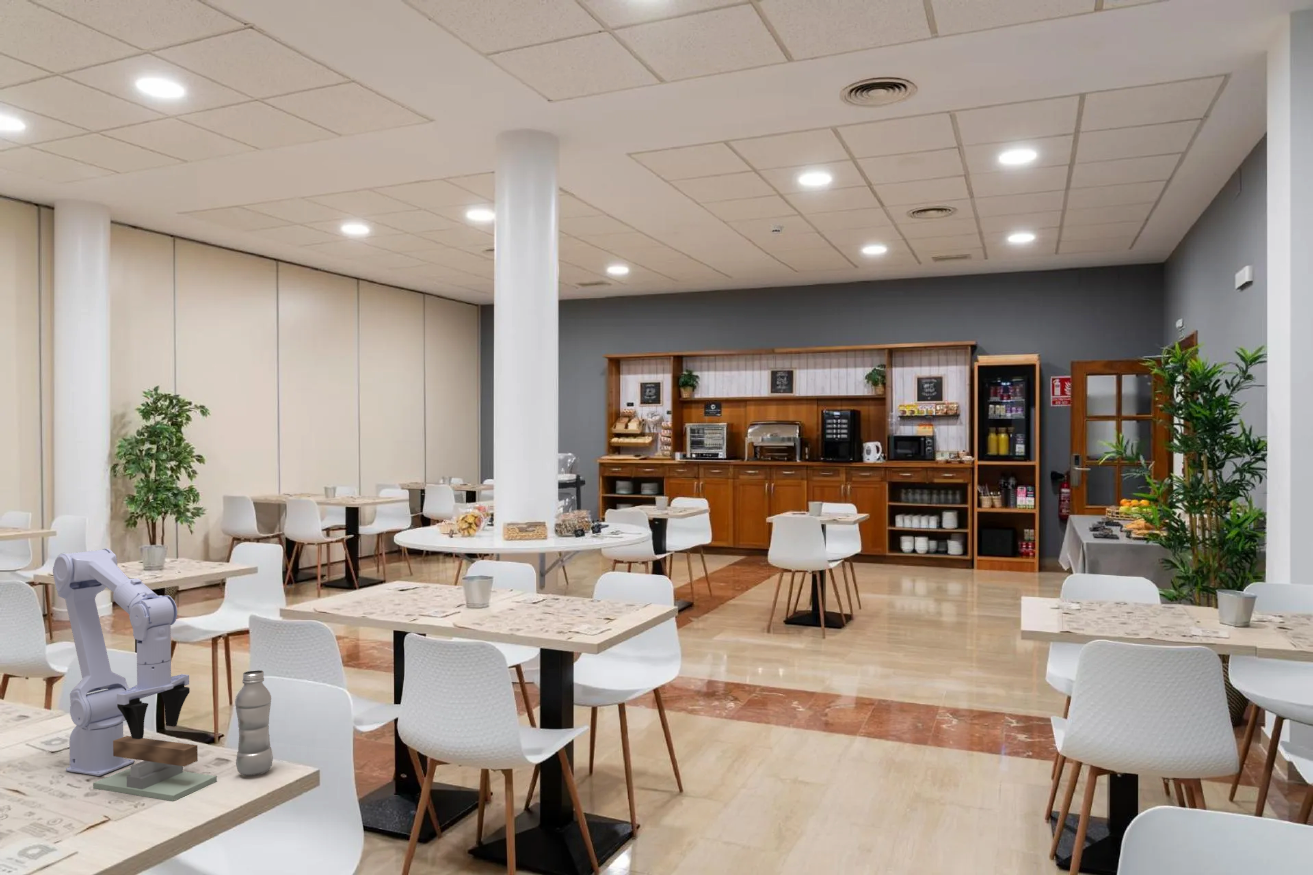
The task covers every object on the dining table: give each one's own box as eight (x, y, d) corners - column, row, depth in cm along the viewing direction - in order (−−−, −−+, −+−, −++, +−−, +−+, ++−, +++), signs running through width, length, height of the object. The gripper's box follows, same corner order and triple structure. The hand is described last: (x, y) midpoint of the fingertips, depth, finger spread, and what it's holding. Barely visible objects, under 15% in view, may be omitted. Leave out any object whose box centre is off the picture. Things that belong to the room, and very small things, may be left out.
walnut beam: (113, 756, 174) (113, 740, 174) (127, 750, 177) (126, 735, 177) (184, 766, 168) (184, 750, 168) (197, 760, 171) (197, 745, 171)
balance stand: (93, 787, 171) (92, 761, 171) (139, 769, 181) (138, 744, 181) (173, 800, 165) (172, 773, 165) (216, 781, 174) (216, 755, 174)
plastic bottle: (271, 777, 176) (269, 674, 176) (233, 781, 174) (232, 677, 174) (275, 765, 182) (273, 666, 182) (238, 769, 180) (237, 669, 180)
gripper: (136, 671, 165) (137, 746, 165) (200, 653, 178) (201, 722, 178) (107, 669, 167) (108, 742, 167) (173, 651, 181) (174, 718, 181)
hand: (154, 731), depth 173 cm, fingers open, 7 cm apart
